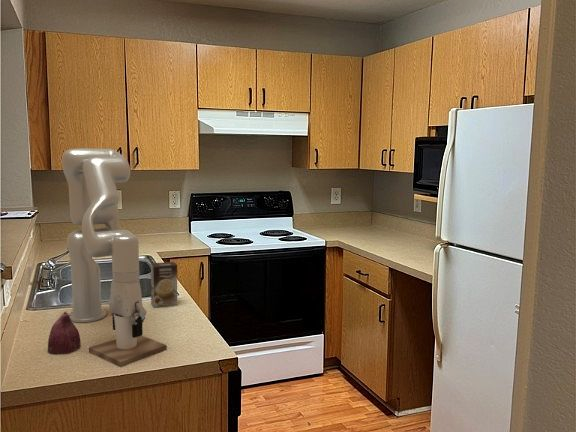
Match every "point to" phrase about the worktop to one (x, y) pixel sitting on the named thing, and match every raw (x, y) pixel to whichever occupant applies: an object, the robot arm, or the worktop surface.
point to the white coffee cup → (124, 332)
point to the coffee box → (163, 284)
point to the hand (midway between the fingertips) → (127, 332)
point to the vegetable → (63, 336)
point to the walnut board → (127, 351)
